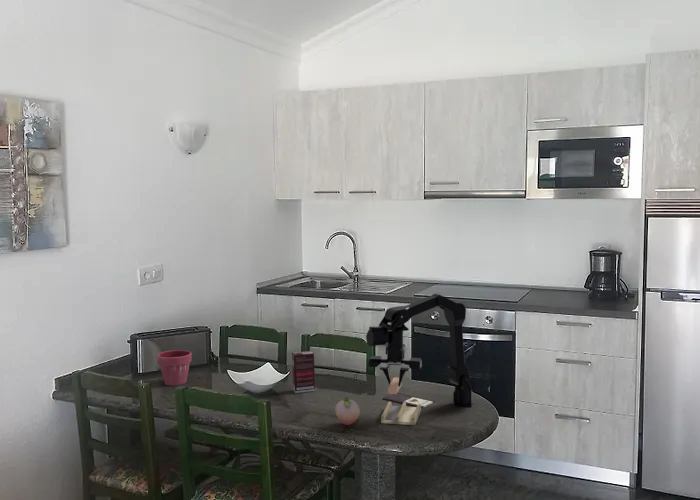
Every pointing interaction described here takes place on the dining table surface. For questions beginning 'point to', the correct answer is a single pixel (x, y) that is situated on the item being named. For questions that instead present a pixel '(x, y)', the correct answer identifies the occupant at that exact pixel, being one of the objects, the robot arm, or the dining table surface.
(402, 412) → the cream desk organizer
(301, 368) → the supplement box
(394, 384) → the clay strip
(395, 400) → the chocolate bar
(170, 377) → the plant pot
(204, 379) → the dining table surface
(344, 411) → the decorative fruit
